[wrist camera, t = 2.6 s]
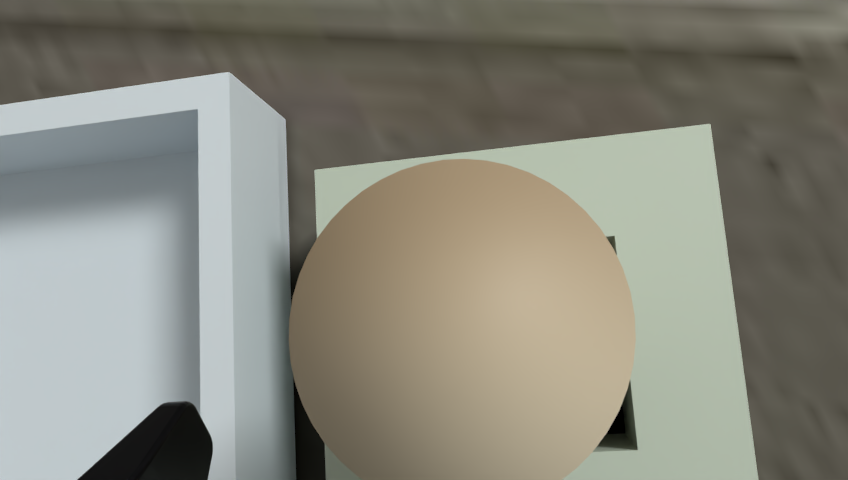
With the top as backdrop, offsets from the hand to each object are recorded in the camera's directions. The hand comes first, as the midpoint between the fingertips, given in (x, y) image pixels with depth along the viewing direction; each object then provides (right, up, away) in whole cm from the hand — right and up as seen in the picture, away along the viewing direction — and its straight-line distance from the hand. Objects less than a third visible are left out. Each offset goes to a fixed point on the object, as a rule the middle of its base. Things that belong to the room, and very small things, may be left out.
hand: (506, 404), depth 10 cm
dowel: (+2, 0, +8) cm, 9 cm away
